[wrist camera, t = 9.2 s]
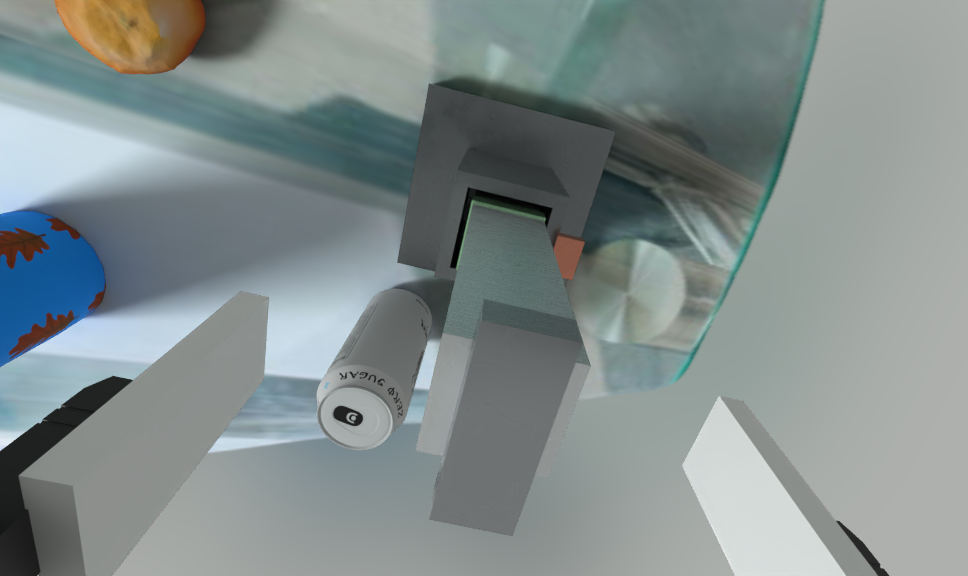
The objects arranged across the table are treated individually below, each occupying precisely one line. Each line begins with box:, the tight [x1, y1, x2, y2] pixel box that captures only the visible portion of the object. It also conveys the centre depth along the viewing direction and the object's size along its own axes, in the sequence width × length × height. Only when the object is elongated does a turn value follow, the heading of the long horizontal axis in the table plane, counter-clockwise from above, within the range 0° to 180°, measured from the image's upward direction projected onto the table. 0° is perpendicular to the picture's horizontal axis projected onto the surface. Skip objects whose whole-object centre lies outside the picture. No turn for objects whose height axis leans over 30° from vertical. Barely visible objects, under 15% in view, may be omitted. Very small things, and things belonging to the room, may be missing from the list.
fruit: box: [55, 0, 206, 74], centre depth 32 cm, size 8×8×8 cm
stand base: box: [397, 84, 616, 284], centre depth 33 cm, size 14×14×13 cm
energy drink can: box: [317, 289, 432, 450], centre depth 37 cm, size 6×6×15 cm
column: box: [416, 189, 591, 536], centre depth 22 cm, size 6×4×21 cm, turn 167°
